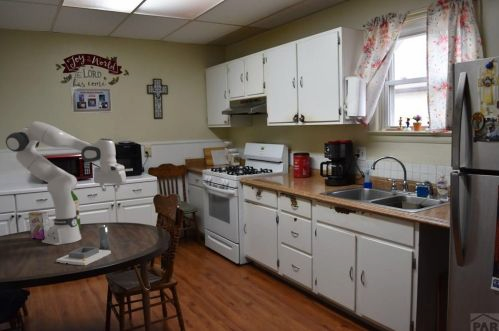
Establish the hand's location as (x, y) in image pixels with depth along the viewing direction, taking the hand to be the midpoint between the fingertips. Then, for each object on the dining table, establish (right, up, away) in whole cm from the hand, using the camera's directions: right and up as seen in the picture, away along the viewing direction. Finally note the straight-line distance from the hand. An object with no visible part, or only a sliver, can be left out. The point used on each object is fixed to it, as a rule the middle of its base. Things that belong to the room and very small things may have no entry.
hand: (110, 191), depth 226 cm
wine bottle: (-37, -28, +36) cm, 59 cm away
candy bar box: (-49, -30, +17) cm, 60 cm away
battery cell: (+1, -30, -10) cm, 32 cm away
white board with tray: (-5, -32, -24) cm, 41 cm away
